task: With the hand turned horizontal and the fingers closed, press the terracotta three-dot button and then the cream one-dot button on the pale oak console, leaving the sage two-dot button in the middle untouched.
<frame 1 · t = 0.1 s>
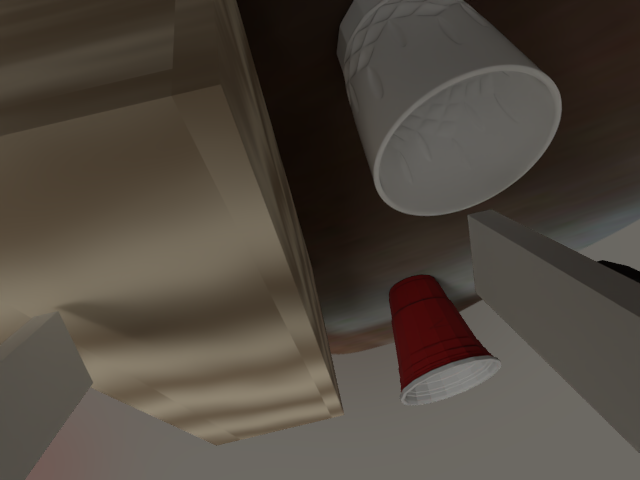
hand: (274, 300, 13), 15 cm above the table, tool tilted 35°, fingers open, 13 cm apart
console: (149, 191, 28), on the table
plastic cup: (413, 285, 48), on the table
white cup: (393, 35, 23), on the table
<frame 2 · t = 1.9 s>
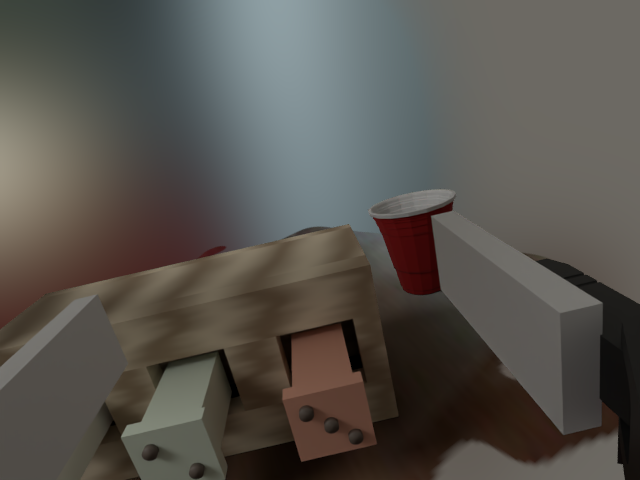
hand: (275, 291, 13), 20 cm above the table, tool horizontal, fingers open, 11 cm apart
console: (224, 447, 35), on the table
button 2dots: (188, 414, 29), point 7 cm above the table, slide at 0.0 cm
plastic cup: (422, 285, 54), on the table
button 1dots: (51, 446, 29), point 7 cm above the table, slide at 0.0 cm
button 3dots: (325, 383, 29), point 7 cm above the table, slide at 0.0 cm
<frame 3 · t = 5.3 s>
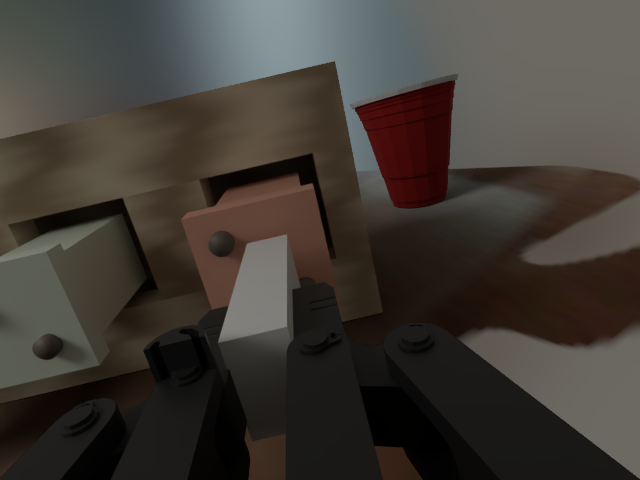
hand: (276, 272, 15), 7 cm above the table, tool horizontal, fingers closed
console: (141, 361, 25), on the table
button 2dots: (62, 285, 19), point 7 cm above the table, slide at 0.0 cm
plastic cup: (417, 201, 44), on the table
button 3dots: (268, 235, 19), point 7 cm above the table, slide at 0.1 cm, touching gripper
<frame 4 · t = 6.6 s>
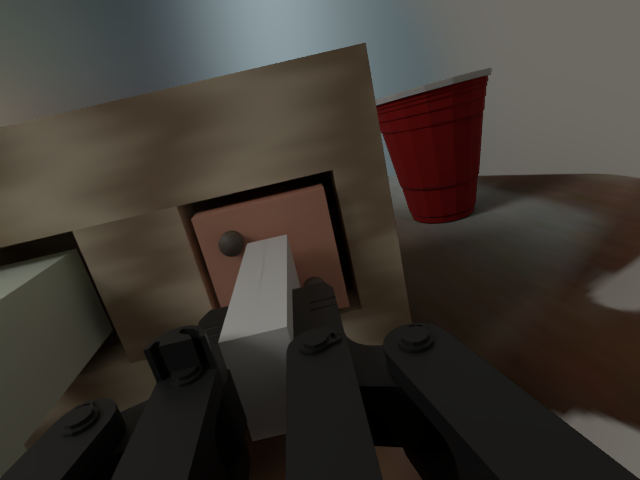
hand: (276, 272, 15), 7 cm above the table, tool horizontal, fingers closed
console: (107, 434, 19), on the table
plastic cup: (441, 215, 39), on the table
button 3dots: (276, 235, 19), point 7 cm above the table, slide at 6.0 cm, touching gripper
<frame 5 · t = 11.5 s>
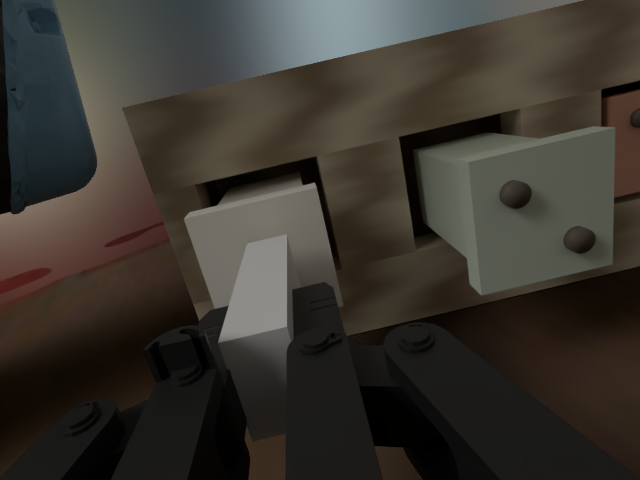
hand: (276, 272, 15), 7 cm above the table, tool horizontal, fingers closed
console: (470, 296, 23), on the table
button 2dots: (491, 194, 18), point 7 cm above the table, slide at 0.0 cm
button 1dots: (271, 235, 19), point 7 cm above the table, slide at 1.7 cm, touching gripper
button 3dots: (605, 133, 24), point 7 cm above the table, slide at 6.2 cm
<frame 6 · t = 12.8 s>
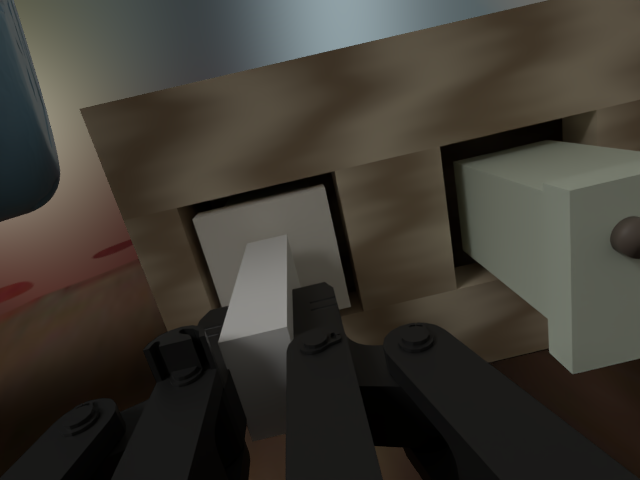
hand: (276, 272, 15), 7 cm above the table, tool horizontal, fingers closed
console: (518, 340, 19), on the table
button 2dots: (567, 223, 13), point 7 cm above the table, slide at 0.0 cm
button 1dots: (277, 235, 19), point 7 cm above the table, slide at 6.2 cm, touching gripper
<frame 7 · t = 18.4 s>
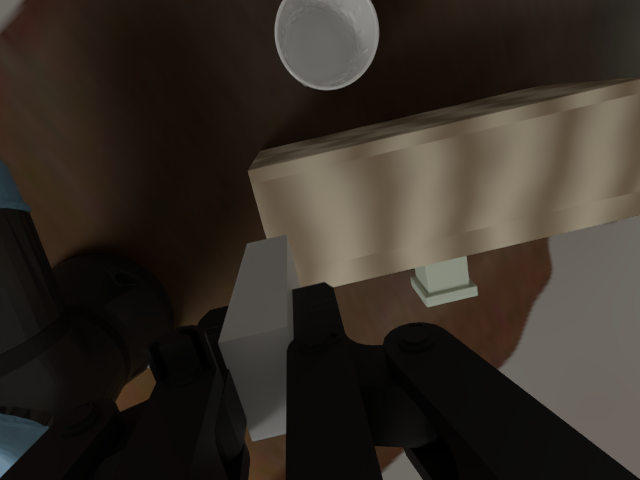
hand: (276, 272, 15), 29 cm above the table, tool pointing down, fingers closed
console: (412, 204, 45), on the table
button 2dots: (438, 256, 40), point 7 cm above the table, slide at 0.0 cm
white cup: (317, 51, 40), on the table
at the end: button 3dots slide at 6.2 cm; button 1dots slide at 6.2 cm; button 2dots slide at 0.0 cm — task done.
